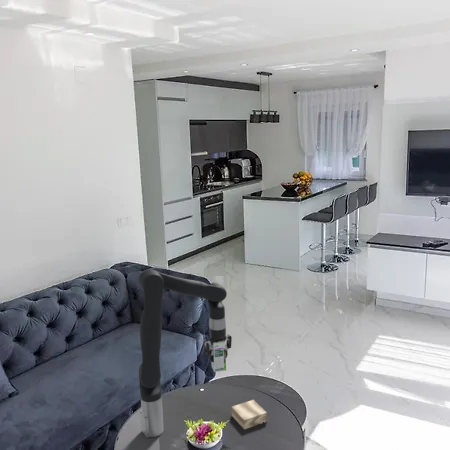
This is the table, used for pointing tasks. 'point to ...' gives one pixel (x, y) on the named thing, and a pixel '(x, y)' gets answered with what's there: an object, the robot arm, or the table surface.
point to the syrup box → (219, 356)
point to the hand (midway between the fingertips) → (218, 359)
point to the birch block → (249, 414)
